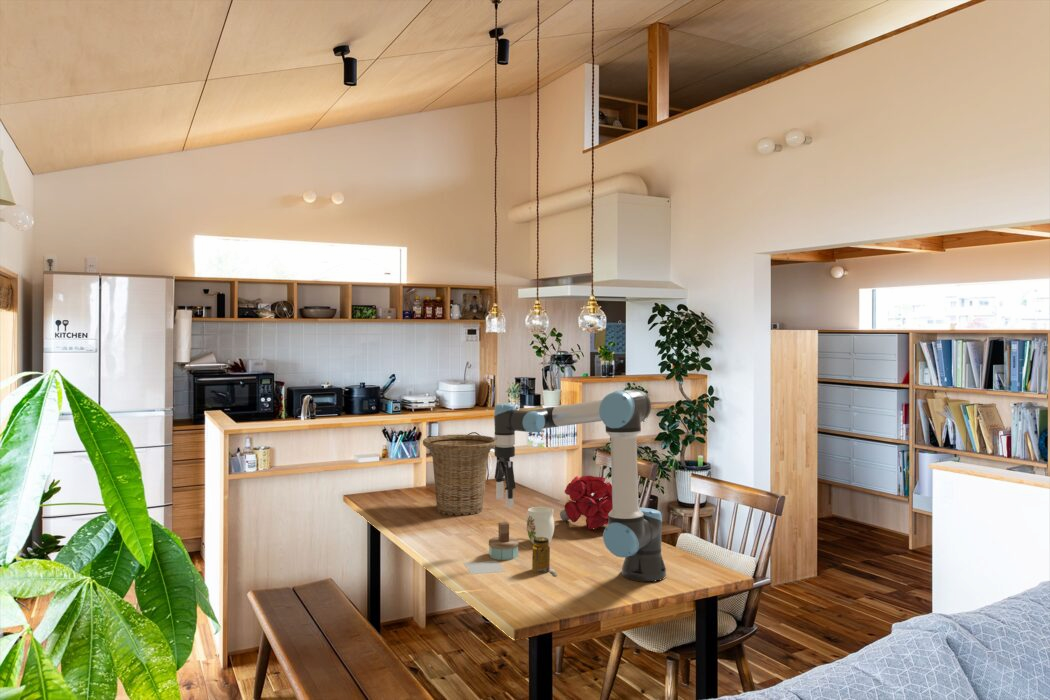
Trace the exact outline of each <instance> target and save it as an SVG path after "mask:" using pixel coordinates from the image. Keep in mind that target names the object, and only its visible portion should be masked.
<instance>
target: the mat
mask: <svg viewBox="0 0 1050 700" xmlns="http://www.w3.org/2000/svg"><path fill="white" fill-rule="evenodd" d="M463 564H464V566H465V567H466V568H467V570H468V572H469V573H470V575H477V574H489V573H501V572H506V571H505V569H504V568H503V566H502V565H501V564H500V563H499V562H498V560H488V561H475V562H464V563H463Z"/></svg>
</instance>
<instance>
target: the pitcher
mask: <svg viewBox="0 0 1050 700" xmlns="http://www.w3.org/2000/svg"><path fill="white" fill-rule="evenodd" d="M554 510H555V509H554V508H552V507H547V506H533V507H529V508H528V509H527V514H526V532H527V536H528V538H529V540H530V542H531V544H533V545H534V539H535V538H537V537H545V538H548V540H549V543H550V542H551V541H552V539H553V535H554V533H555V520H554V512H555V511H554Z"/></svg>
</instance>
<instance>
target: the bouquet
mask: <svg viewBox="0 0 1050 700" xmlns="http://www.w3.org/2000/svg"><path fill="white" fill-rule="evenodd" d="M564 494H565V495H567V496H569V499H570V500H568V501H567V502H565V504H564V508H563V509H562V510H561V511H560V512H559V517H560V518H561V520H562V521H564V522H567V521H566V520H568V521H571V522H572V523H576V522H578V521H579V519H580V518H581V516H584V517H585V524H586V527H587V530H589V529H590V530H591V529H593V528H597V529H598V528H600V527H603V526H605V525H609V524H608V513H609V512H610V511H611V510H612V509H613V504H612V483H610V481H609V482H608V481H606V477H602V476H593V475H582V476H580V477H579V476H578V475H576V476H574V478H573V479H571V480H570V483H568V484H567V485H566V487H565V489H564ZM593 530H594V529H593Z"/></svg>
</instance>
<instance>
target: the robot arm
mask: <svg viewBox="0 0 1050 700" xmlns="http://www.w3.org/2000/svg"><path fill="white" fill-rule="evenodd" d="M651 411H652V401H651V399H650V397H649V396H648V394H647V393H645V392H644V391H643V390H640V389H636V388H635V389H634V388H631V389H625V390H616V391H612V392H609V393H608V394H607V395H605V396H604V397H603V399H597V400H591V401H584V402H577V403H572V404H565V405H559V406H552V407H551V406H550V407H544V408H538V409H530V410H517V409H516V406H515V404H513V403H497V404H496V405H495V406H494V415H493V419H494V437H493V436H492V437H493V440H495V445H496V446H495V447H494V448H493V449H494V450H493V451H494V453H493V454H494V457H496V464H495V472H494V479H495V486H496V487H495V488H496V489H495V493H496V496H495V498H496V500H497V501H498V500H504V498H505V508H514V490H515V489H516V483H515V482H516V481H515V473H514V462H513V461H511V458H514V457H515V456H516V452H515V451H516V448H515V445H516V437H515V436H516V432H526V433H529V434H530V433H531V434H533V433H541V431H542V430H545V429H550V428H558V427H565V426H573V425H581V424H589V423H591V424H592V423H596V422H603V425H605V433H607V435H608V436H609V437H610V463H611V465H610V466H611V485H612V504H613V509H612V510H611V511H610V512H609V513H608V524H607V526H606V527H605V528H604V530H603V533H602V540H603V544H604V546H605V548H606V549H607V550H608V551H609V552H610V553H611V554H612V555H613V556H615V557H617V558H624V559H623V563H622V566H621V575H622V576H623V577H624V578H626V579H628V580H631V579H632V580H631V581H635V580H637V581H636V582H641V581H655V580H660V579H662V578H664V577H665V576H666V577H667V568H666V565H665V563H664V558H663V555H662V531H663V530H662V529H663V519H662V513H661V511H660V510H657V509H653V508H648V507H639V477H638V474H639V473H638V472H639V471H638V445H637V444H638V443H637V442H638V441H637V438H638V435H639V434H640V433H641V431H642V424H641V423H642V422H643V421H645V420H646V419H648V417H649V416H650V414H651ZM504 482H505V487H504ZM504 490H505V492H504ZM504 493H505V495H504ZM666 577H665V578H666ZM665 578H664V579H665ZM660 581H661V580H660ZM655 582H656V581H655Z"/></svg>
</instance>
